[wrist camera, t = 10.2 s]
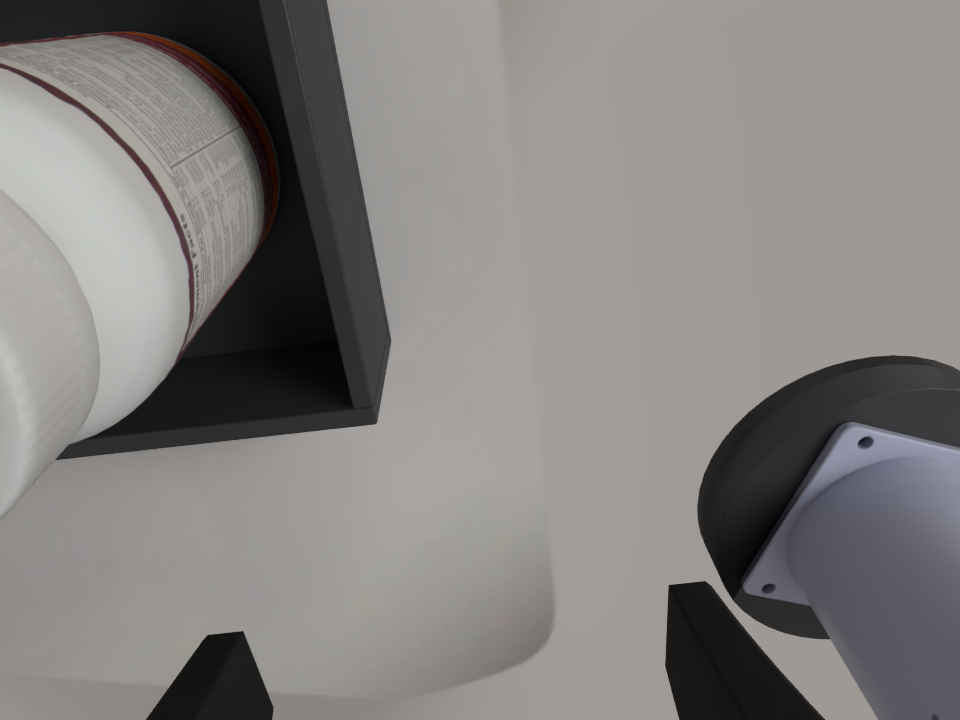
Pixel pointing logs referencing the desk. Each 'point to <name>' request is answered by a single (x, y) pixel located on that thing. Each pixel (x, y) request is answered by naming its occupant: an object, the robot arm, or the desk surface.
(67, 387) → the pill bottle
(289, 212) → the waste bin
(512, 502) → the desk surface
